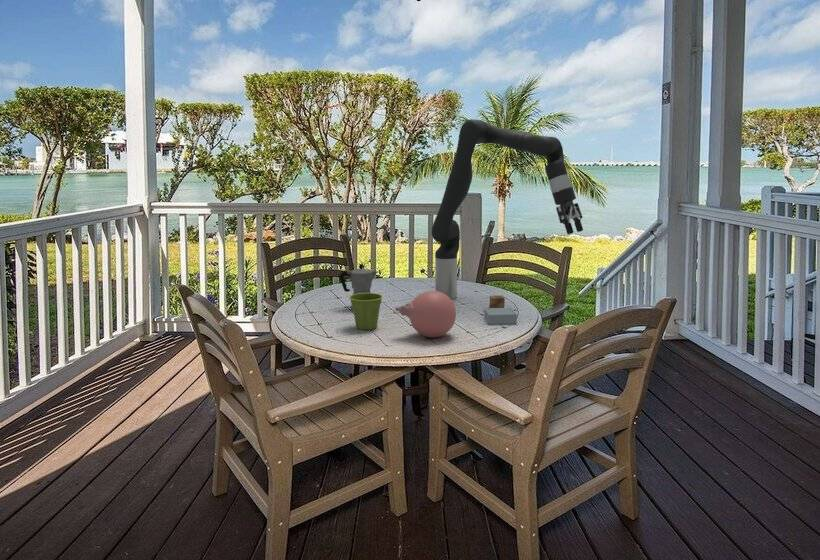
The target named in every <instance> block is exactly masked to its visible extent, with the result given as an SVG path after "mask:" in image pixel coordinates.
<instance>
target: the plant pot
mask: <svg viewBox="0 0 820 560" xmlns="http://www.w3.org/2000/svg"><path fill="white" fill-rule="evenodd" d="M348 298H349V300H350V304H352V307H353V310H352V311H353V312H352V313H353V316H354V322H355V327H356V329H358V330H360V331H364V330H368V331H371V330H375V329H377V327H378V320H379V314H380V308H381V305H382V304H381V303H382V299H383V298H384V295H383V294H381V293H376V292H371V293H358V294H353V293H352V294H350V295H349V296H348Z"/></svg>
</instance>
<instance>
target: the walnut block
mask: <svg viewBox="0 0 820 560" xmlns="http://www.w3.org/2000/svg"><path fill="white" fill-rule="evenodd" d="M505 300H506V299H505V297H504V295H499V294H497V295H489V308H506V307H505V304H506V303H505V302H506V301H505Z"/></svg>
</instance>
